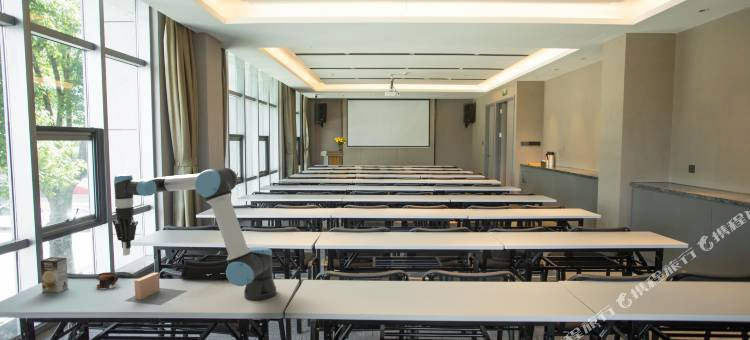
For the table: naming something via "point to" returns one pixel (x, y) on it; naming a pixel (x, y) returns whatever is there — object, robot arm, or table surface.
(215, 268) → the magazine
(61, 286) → the coffee box
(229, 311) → the table surface
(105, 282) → the pottery mug
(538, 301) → the table surface
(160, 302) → the mat
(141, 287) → the board
